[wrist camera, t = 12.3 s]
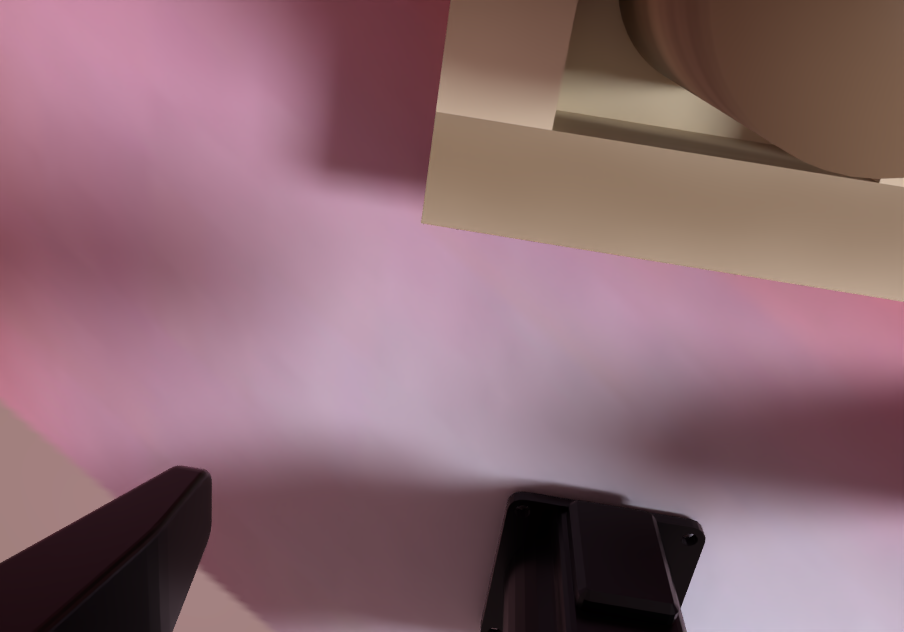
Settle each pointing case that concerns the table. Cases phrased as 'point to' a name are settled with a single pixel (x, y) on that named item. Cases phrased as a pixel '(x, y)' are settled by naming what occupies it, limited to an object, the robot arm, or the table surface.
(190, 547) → the robot arm
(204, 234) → the table surface
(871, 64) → the peg
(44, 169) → the table surface
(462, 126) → the socket block
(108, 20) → the table surface
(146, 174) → the table surface
